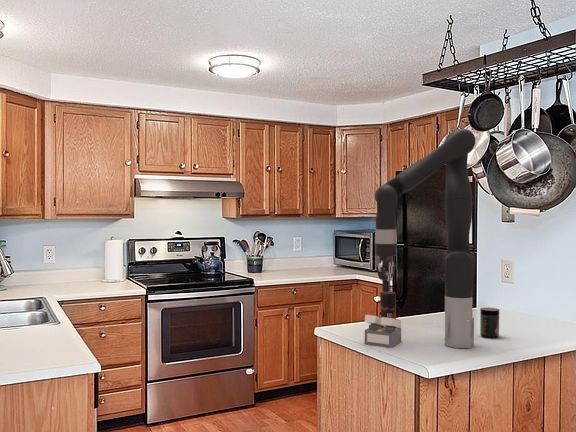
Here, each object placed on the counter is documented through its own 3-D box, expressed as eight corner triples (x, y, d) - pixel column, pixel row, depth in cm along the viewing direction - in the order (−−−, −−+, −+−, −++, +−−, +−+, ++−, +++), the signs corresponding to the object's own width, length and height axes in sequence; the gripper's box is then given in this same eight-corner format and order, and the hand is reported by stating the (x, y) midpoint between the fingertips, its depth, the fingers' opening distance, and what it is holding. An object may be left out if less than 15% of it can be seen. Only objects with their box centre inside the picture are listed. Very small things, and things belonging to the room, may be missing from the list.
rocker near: (400, 327, 192) (401, 320, 193) (391, 325, 184) (392, 318, 185) (390, 326, 194) (390, 318, 195) (380, 324, 186) (381, 316, 187)
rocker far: (384, 326, 195) (385, 319, 196) (375, 322, 187) (376, 315, 188) (374, 325, 197) (375, 318, 198) (364, 321, 189) (365, 314, 190)
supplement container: (494, 340, 195) (494, 311, 195) (476, 336, 200) (477, 309, 200) (502, 336, 200) (502, 309, 200) (485, 333, 205) (485, 306, 205)
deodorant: (384, 333, 206) (384, 294, 206) (378, 329, 212) (378, 292, 212) (398, 332, 208) (398, 293, 208) (391, 328, 214) (391, 291, 214)
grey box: (401, 341, 193) (401, 325, 193) (391, 347, 184) (391, 330, 184) (375, 338, 198) (375, 322, 198) (364, 344, 189) (364, 327, 189)
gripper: (388, 243, 181) (389, 294, 181) (402, 241, 192) (403, 289, 192) (368, 243, 185) (368, 293, 185) (383, 241, 196) (383, 288, 196)
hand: (386, 291), depth 188 cm, fingers closed
